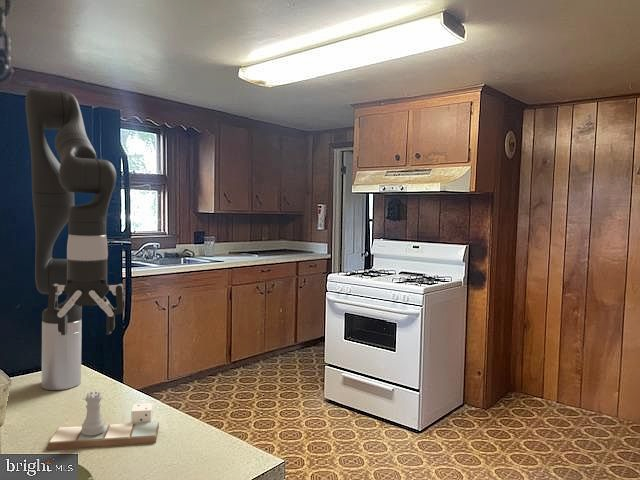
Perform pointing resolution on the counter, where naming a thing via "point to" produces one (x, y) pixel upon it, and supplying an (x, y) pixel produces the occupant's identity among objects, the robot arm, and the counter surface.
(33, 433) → the counter surface
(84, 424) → the rook chess piece
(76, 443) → the board
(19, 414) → the counter surface
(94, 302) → the robot arm
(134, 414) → the die
